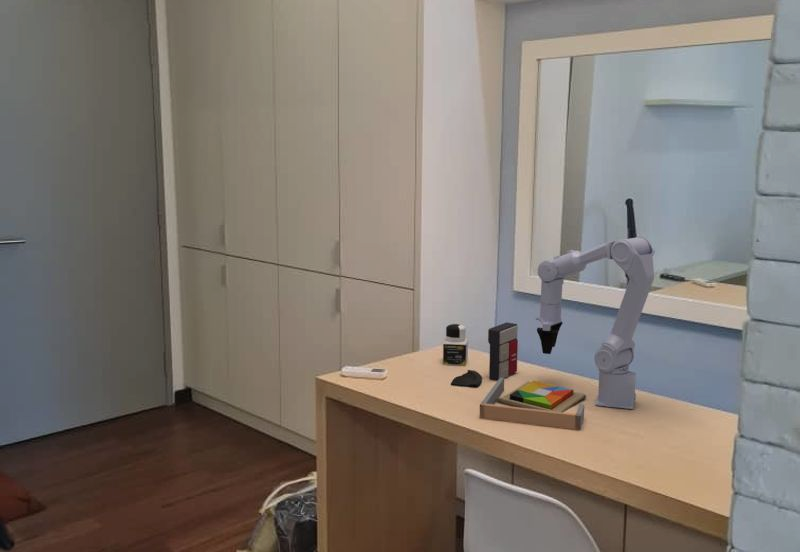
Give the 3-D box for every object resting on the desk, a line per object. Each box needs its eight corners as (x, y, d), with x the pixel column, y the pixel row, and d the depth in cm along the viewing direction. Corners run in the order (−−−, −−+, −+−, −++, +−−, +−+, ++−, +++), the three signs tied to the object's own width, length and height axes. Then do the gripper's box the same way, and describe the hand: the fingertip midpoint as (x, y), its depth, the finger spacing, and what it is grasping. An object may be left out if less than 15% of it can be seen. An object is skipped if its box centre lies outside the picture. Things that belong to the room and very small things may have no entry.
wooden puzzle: (494, 404, 197) (494, 391, 196) (530, 387, 211) (531, 375, 210) (553, 419, 186) (554, 405, 185) (587, 400, 200) (588, 387, 199)
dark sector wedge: (489, 376, 221) (489, 371, 220) (477, 390, 208) (477, 384, 208) (462, 373, 224) (462, 368, 223) (449, 386, 211) (449, 381, 211)
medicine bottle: (442, 365, 231) (443, 327, 229) (445, 358, 238) (445, 322, 236) (465, 366, 230) (466, 328, 228) (467, 359, 237) (468, 323, 235)
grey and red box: (500, 381, 214) (501, 331, 212) (487, 379, 217) (488, 328, 214) (518, 372, 223) (519, 323, 220) (505, 370, 225) (506, 322, 223)
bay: (589, 399, 199) (590, 386, 198) (579, 430, 177) (580, 416, 176) (499, 389, 207) (499, 377, 206) (479, 418, 185) (479, 404, 184)
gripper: (540, 296, 215) (538, 342, 218) (532, 306, 202) (530, 355, 204) (565, 298, 213) (563, 344, 215) (558, 308, 199) (556, 357, 202)
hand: (548, 349), depth 210 cm, fingers open, 7 cm apart
